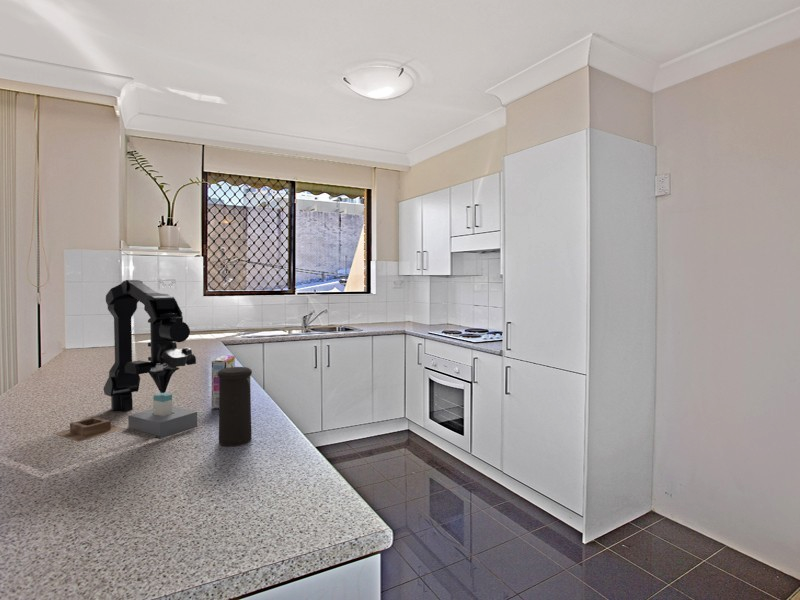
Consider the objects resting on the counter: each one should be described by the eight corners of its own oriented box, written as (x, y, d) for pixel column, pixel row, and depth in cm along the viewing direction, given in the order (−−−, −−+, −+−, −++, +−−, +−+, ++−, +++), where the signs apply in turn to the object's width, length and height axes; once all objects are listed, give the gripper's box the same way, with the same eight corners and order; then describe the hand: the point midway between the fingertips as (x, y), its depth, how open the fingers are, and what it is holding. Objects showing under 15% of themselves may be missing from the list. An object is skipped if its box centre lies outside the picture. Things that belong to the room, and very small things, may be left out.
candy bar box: (226, 409, 154) (226, 360, 153) (211, 409, 154) (210, 360, 153) (235, 400, 165) (235, 355, 165) (221, 400, 165) (220, 355, 164)
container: (259, 437, 128) (258, 365, 127) (237, 449, 119) (237, 372, 118) (233, 434, 130) (232, 363, 129) (210, 444, 122) (209, 369, 121)
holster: (55, 437, 127) (54, 424, 127) (100, 425, 137) (100, 413, 137) (79, 445, 121) (78, 431, 121) (125, 431, 132) (124, 419, 131)
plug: (154, 429, 134) (153, 395, 133) (163, 426, 137) (163, 392, 136) (163, 431, 132) (162, 396, 132) (172, 428, 135) (172, 394, 134)
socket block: (128, 430, 132) (128, 415, 132) (166, 419, 143) (166, 405, 143) (159, 439, 126) (159, 422, 126) (197, 426, 136) (197, 411, 136)
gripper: (148, 345, 121) (149, 404, 122) (208, 337, 138) (208, 389, 138) (123, 342, 126) (124, 398, 127) (183, 334, 143) (184, 385, 144)
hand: (162, 392), depth 134 cm, fingers closed
